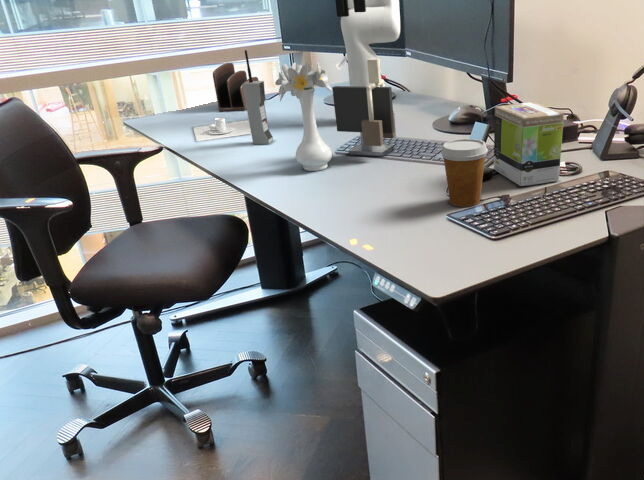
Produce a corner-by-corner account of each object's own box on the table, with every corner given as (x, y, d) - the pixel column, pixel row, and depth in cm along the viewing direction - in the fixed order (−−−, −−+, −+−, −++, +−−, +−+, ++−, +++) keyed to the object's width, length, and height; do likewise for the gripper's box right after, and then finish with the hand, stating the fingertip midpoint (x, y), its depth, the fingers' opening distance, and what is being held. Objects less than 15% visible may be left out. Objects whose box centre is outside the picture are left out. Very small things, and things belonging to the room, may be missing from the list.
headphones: (378, 135, 174) (372, 55, 164) (395, 136, 173) (390, 55, 162) (363, 145, 167) (355, 62, 157) (380, 146, 165) (374, 62, 155)
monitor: (350, 147, 181) (344, 82, 172) (403, 150, 175) (399, 82, 166) (339, 154, 176) (331, 87, 166) (393, 157, 170) (388, 88, 161)
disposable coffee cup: (439, 196, 142) (437, 140, 135) (482, 192, 142) (482, 136, 136) (445, 211, 134) (444, 152, 127) (491, 207, 134) (492, 148, 128)
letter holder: (219, 111, 233) (210, 69, 226) (237, 99, 250) (230, 60, 242) (245, 110, 232) (237, 68, 224) (262, 98, 248) (255, 58, 241)
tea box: (560, 181, 145) (565, 112, 137) (519, 188, 143) (522, 118, 135) (530, 164, 157) (533, 99, 149) (492, 170, 155) (492, 105, 147)
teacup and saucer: (208, 130, 209) (205, 117, 207) (232, 127, 211) (230, 114, 209) (210, 136, 202) (207, 123, 200) (235, 133, 204) (233, 119, 202)
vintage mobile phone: (269, 144, 189) (253, 50, 176) (253, 144, 190) (236, 51, 177) (273, 141, 192) (258, 48, 179) (257, 141, 193) (241, 49, 180)
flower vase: (325, 154, 176) (313, 54, 163) (349, 171, 162) (338, 62, 148) (279, 163, 172) (262, 60, 158) (299, 181, 158) (283, 70, 144)
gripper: (341, -65, 150) (349, 18, 160) (373, -67, 164) (379, 10, 173) (313, -63, 153) (322, 18, 162) (347, -65, 166) (353, 11, 176)
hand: (351, 14), depth 168 cm, fingers open, 9 cm apart
